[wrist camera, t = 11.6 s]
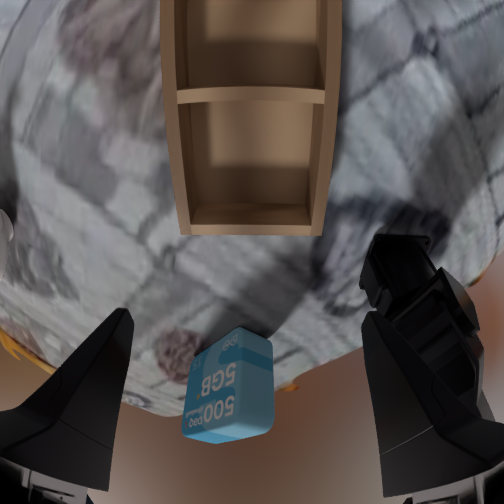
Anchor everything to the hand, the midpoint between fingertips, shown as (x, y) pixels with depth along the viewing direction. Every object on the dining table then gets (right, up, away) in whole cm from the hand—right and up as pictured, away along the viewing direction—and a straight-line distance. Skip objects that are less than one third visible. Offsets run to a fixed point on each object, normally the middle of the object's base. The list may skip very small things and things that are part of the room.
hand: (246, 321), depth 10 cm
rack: (0, +17, +4) cm, 17 cm away
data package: (-3, -10, +25) cm, 27 cm away
